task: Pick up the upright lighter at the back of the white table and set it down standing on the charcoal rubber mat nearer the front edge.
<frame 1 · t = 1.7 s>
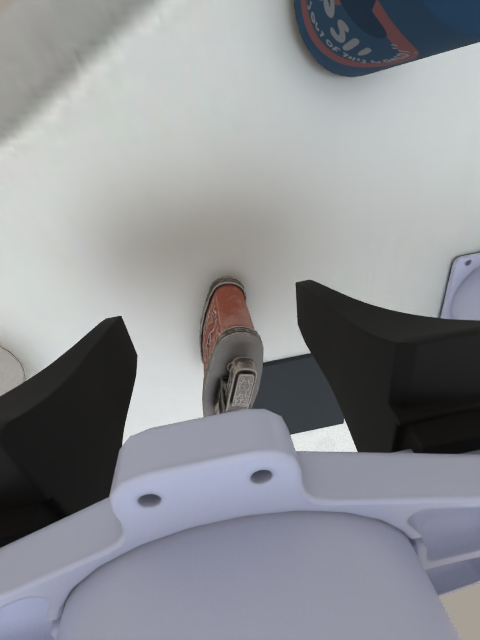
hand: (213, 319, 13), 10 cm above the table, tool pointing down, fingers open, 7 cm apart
lighter: (221, 321, 26), on the table
mat: (284, 398, 31), on the table
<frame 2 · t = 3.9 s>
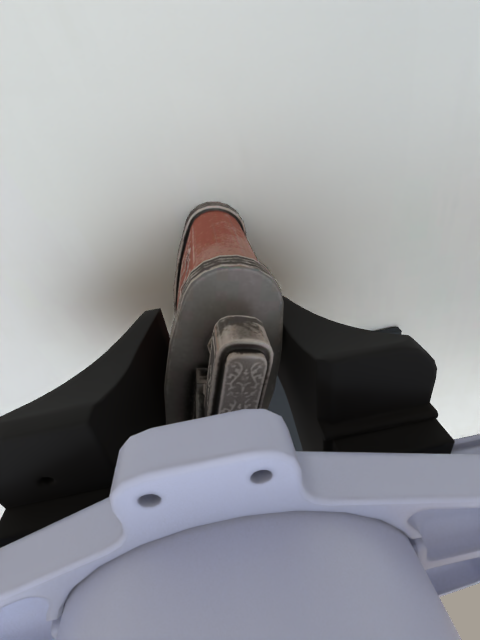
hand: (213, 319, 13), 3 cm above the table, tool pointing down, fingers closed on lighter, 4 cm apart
lighter: (208, 283, 16), on the table, touching gripper
mat: (303, 403, 21), on the table
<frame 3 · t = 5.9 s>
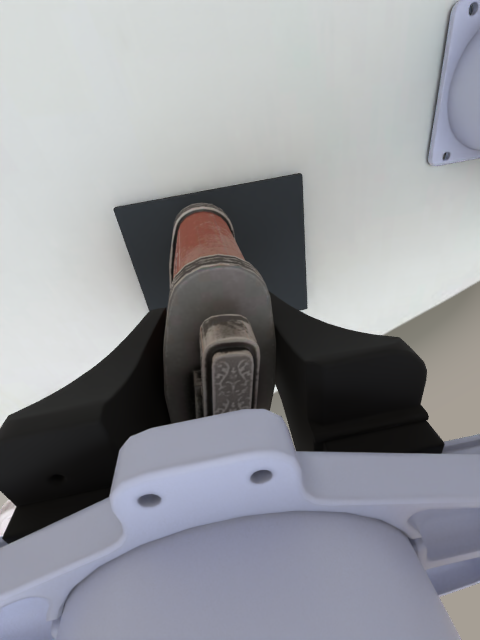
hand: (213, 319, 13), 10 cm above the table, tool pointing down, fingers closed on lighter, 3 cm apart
smoothie: (89, 414, 29), on the table
lighter: (204, 284, 16), point 7 cm above the table, touching gripper
mat: (222, 262, 23), on the table
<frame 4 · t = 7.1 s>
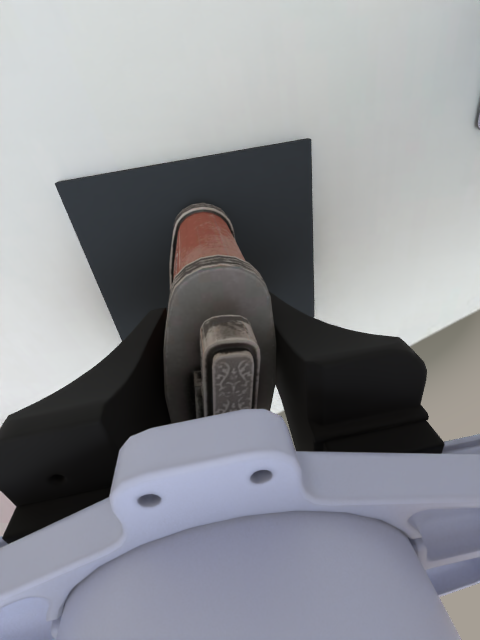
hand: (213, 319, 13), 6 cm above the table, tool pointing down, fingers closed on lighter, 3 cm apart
smoothie: (47, 442, 24), on the table
lighter: (204, 285, 16), point 2 cm above the table, touching gripper
mat: (205, 258, 18), on the table
when the fingers open (4 cm above the table, at t = 8.0 s): lighter stays where it is, resting on mat.
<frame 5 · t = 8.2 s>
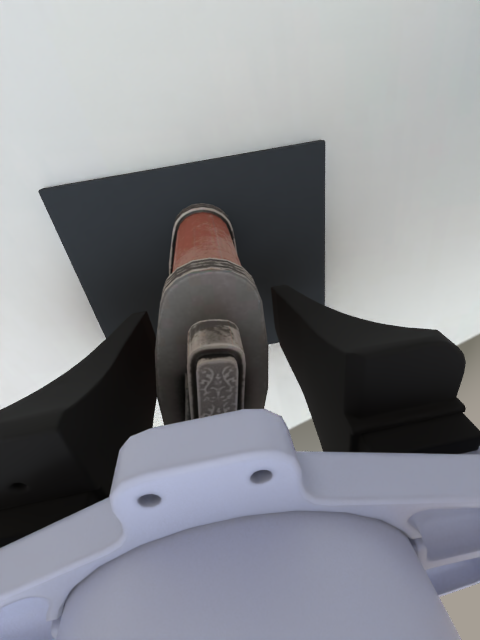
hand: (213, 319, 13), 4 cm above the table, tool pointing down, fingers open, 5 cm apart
lighter: (204, 284, 16), resting on mat
mat: (207, 271, 16), on the table
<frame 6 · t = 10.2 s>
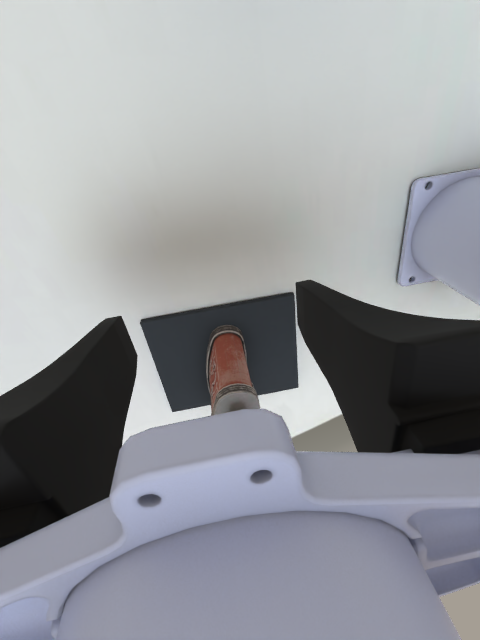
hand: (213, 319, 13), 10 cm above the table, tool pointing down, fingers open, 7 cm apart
lighter: (225, 363, 27), resting on mat
mat: (227, 355, 27), on the table
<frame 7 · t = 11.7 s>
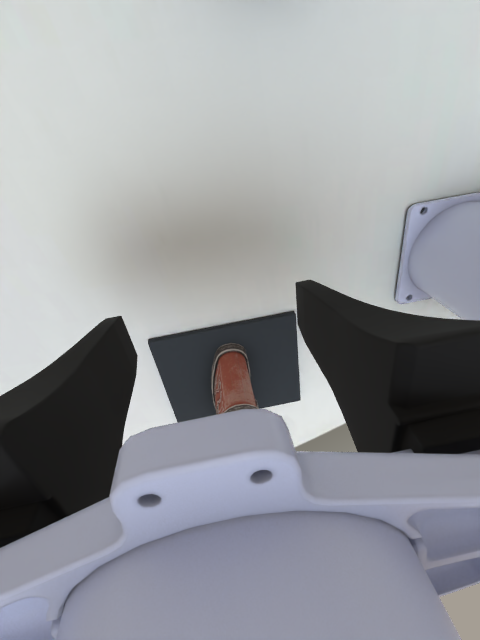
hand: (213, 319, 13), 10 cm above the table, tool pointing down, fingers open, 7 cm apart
lighter: (229, 378, 28), resting on mat
mat: (231, 370, 28), on the table
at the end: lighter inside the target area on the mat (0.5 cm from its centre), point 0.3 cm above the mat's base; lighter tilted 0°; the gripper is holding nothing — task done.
